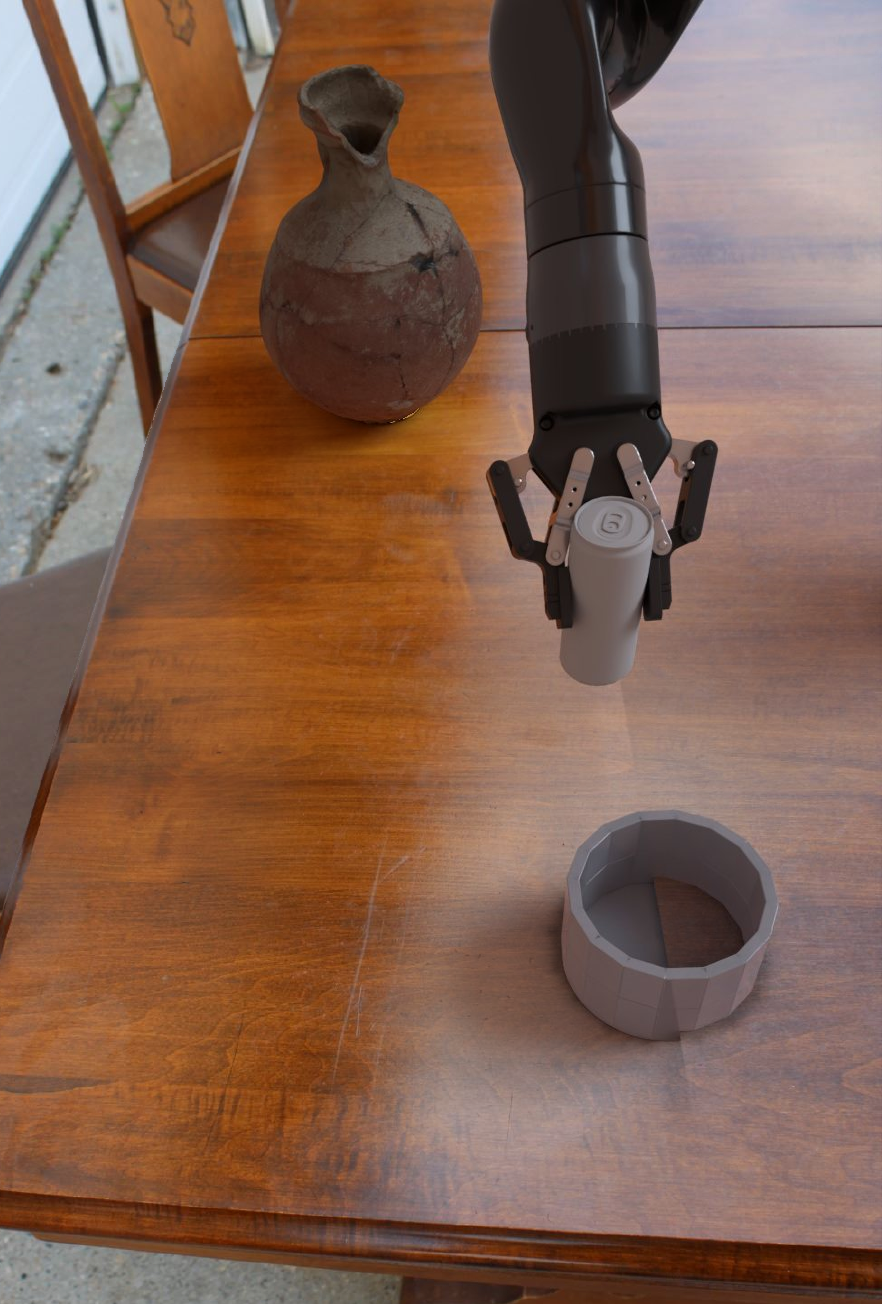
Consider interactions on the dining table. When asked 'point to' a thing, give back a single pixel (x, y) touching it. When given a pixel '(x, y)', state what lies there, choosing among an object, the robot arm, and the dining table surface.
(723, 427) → the dining table surface
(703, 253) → the dining table surface
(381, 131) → the jug
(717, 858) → the pot
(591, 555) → the beverage can
